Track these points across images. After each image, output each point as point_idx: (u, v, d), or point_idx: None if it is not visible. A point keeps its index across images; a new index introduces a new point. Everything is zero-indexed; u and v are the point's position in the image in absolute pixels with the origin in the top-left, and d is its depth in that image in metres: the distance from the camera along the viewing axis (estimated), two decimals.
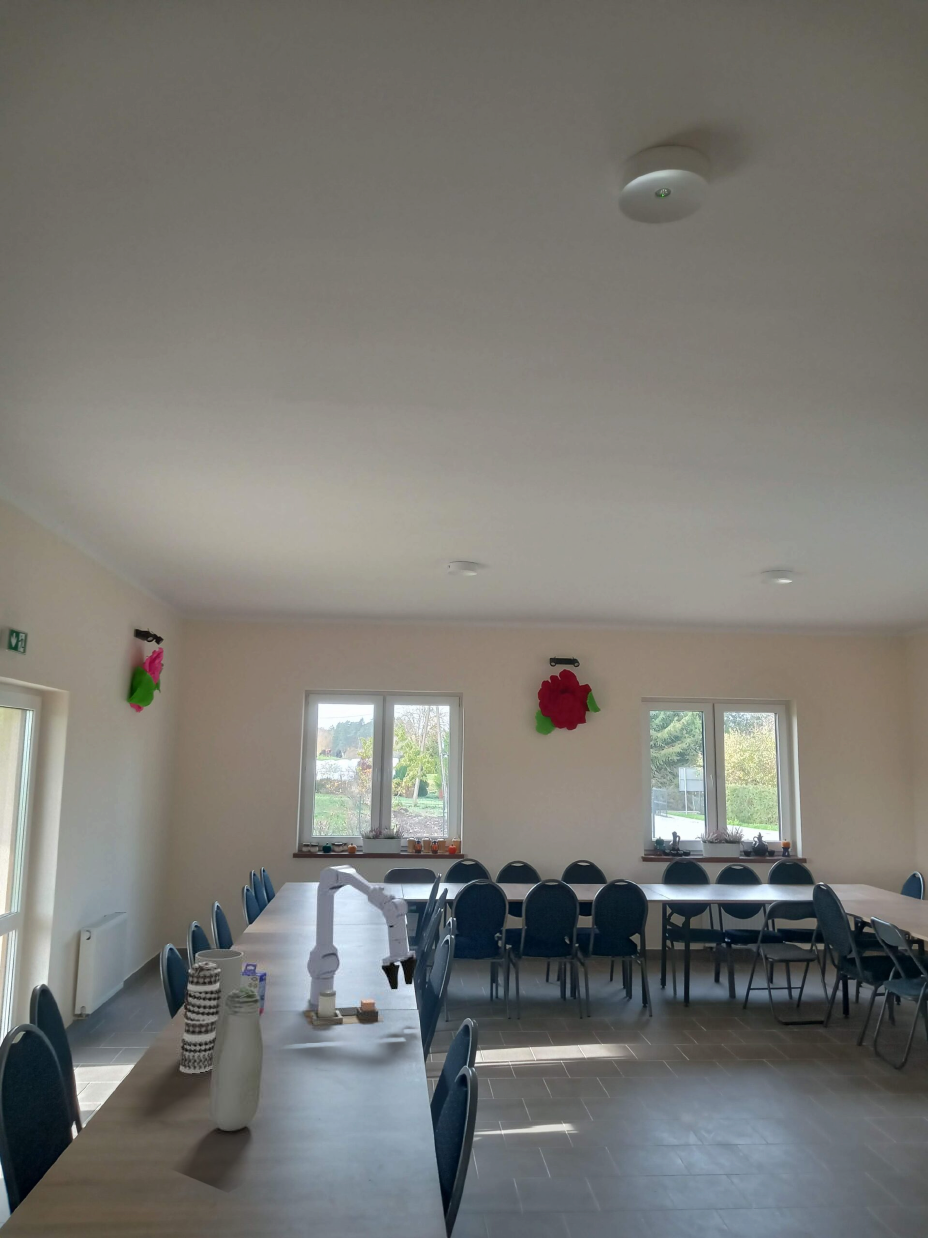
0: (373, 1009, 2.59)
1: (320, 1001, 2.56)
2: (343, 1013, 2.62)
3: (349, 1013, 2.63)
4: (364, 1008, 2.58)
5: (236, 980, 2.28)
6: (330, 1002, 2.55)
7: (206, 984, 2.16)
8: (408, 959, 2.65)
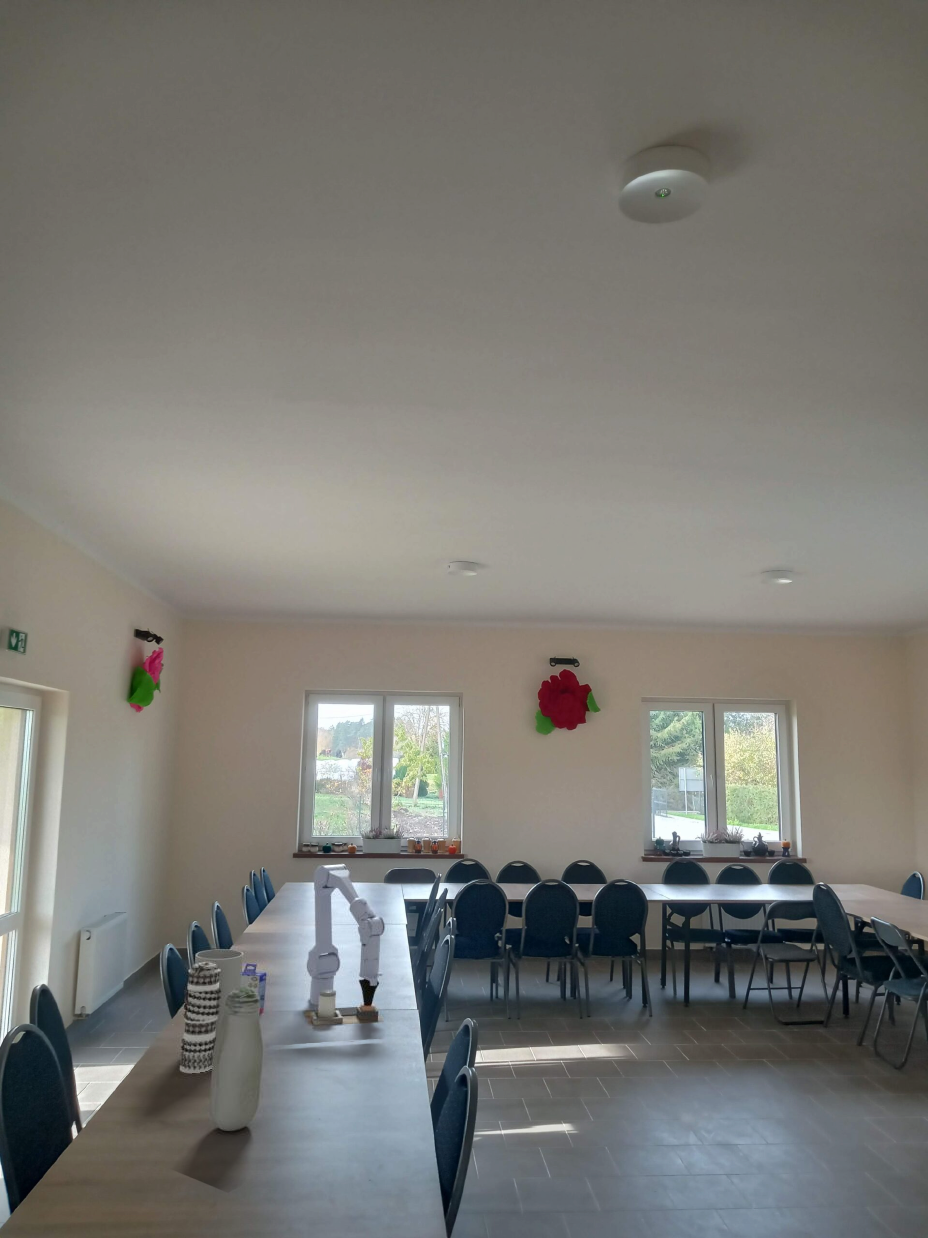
0: None
1: (320, 1001, 2.56)
2: (343, 1013, 2.62)
3: (349, 1013, 2.63)
4: None
5: (236, 980, 2.28)
6: (330, 1002, 2.55)
7: (206, 984, 2.16)
8: None
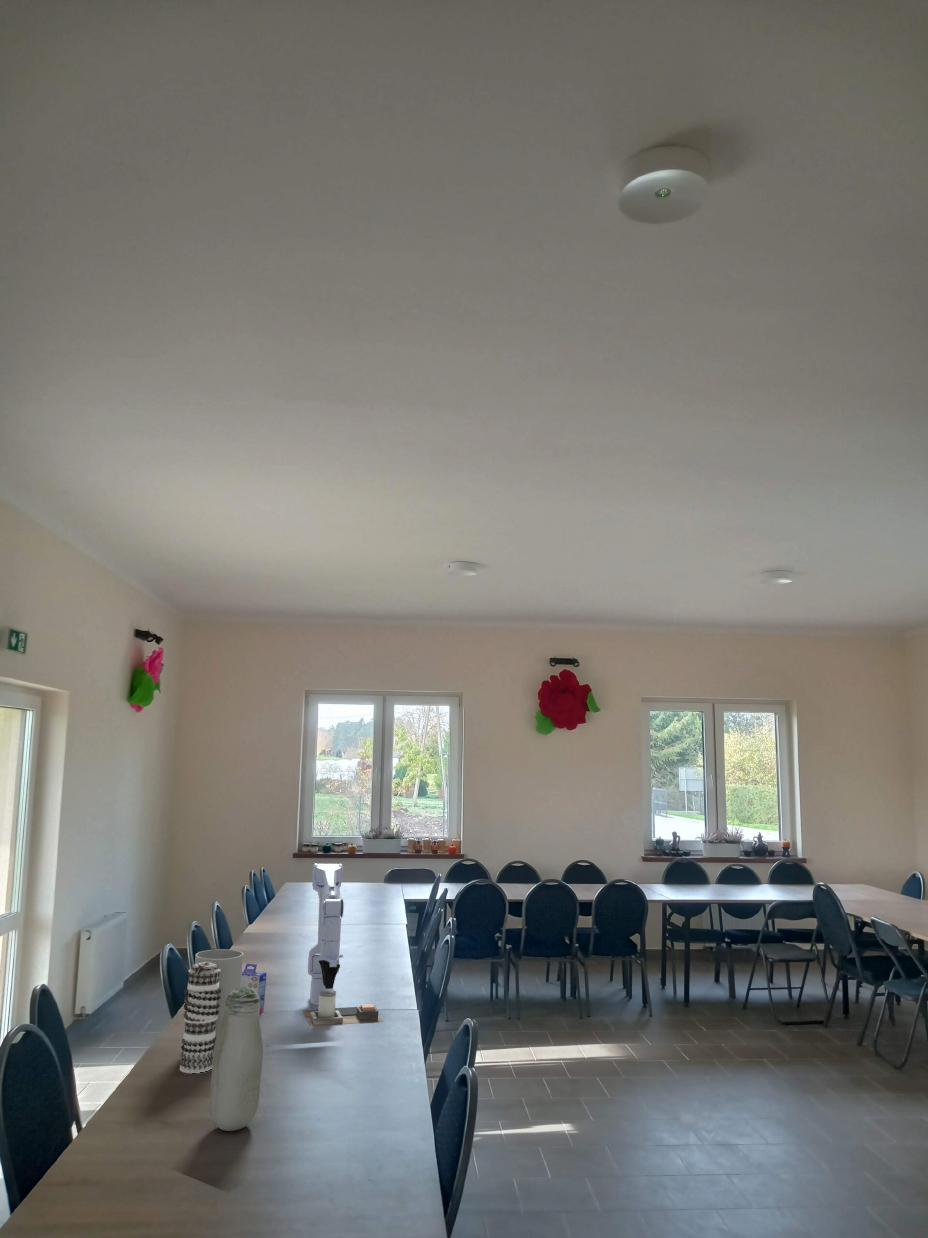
0: None
1: (320, 1001, 2.56)
2: (343, 1013, 2.62)
3: (349, 1013, 2.63)
4: None
5: (236, 980, 2.28)
6: (330, 1002, 2.55)
7: (206, 984, 2.16)
8: None
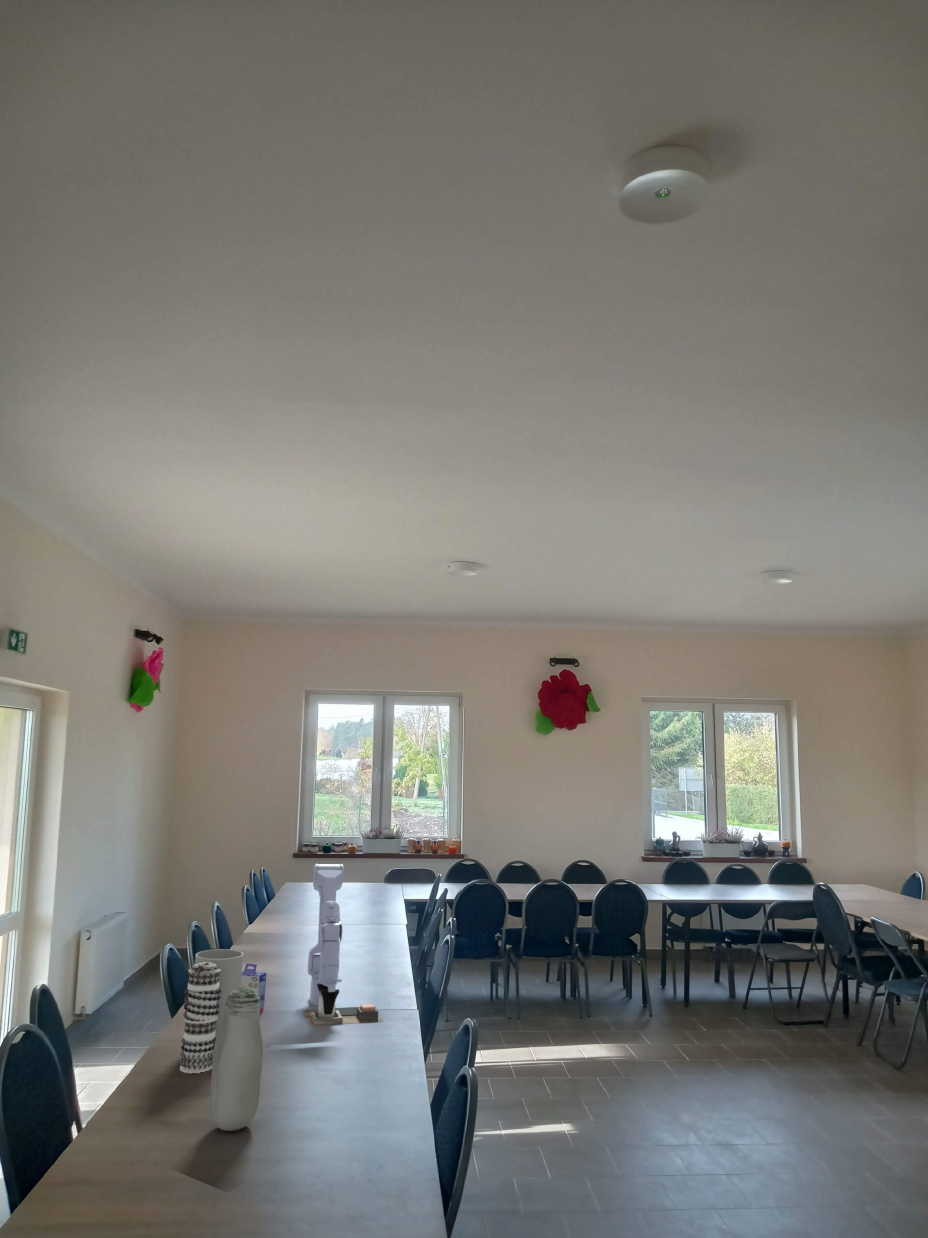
0: None
1: (320, 1001, 2.56)
2: (343, 1013, 2.62)
3: (349, 1013, 2.63)
4: None
5: (236, 980, 2.28)
6: None
7: (206, 984, 2.16)
8: None
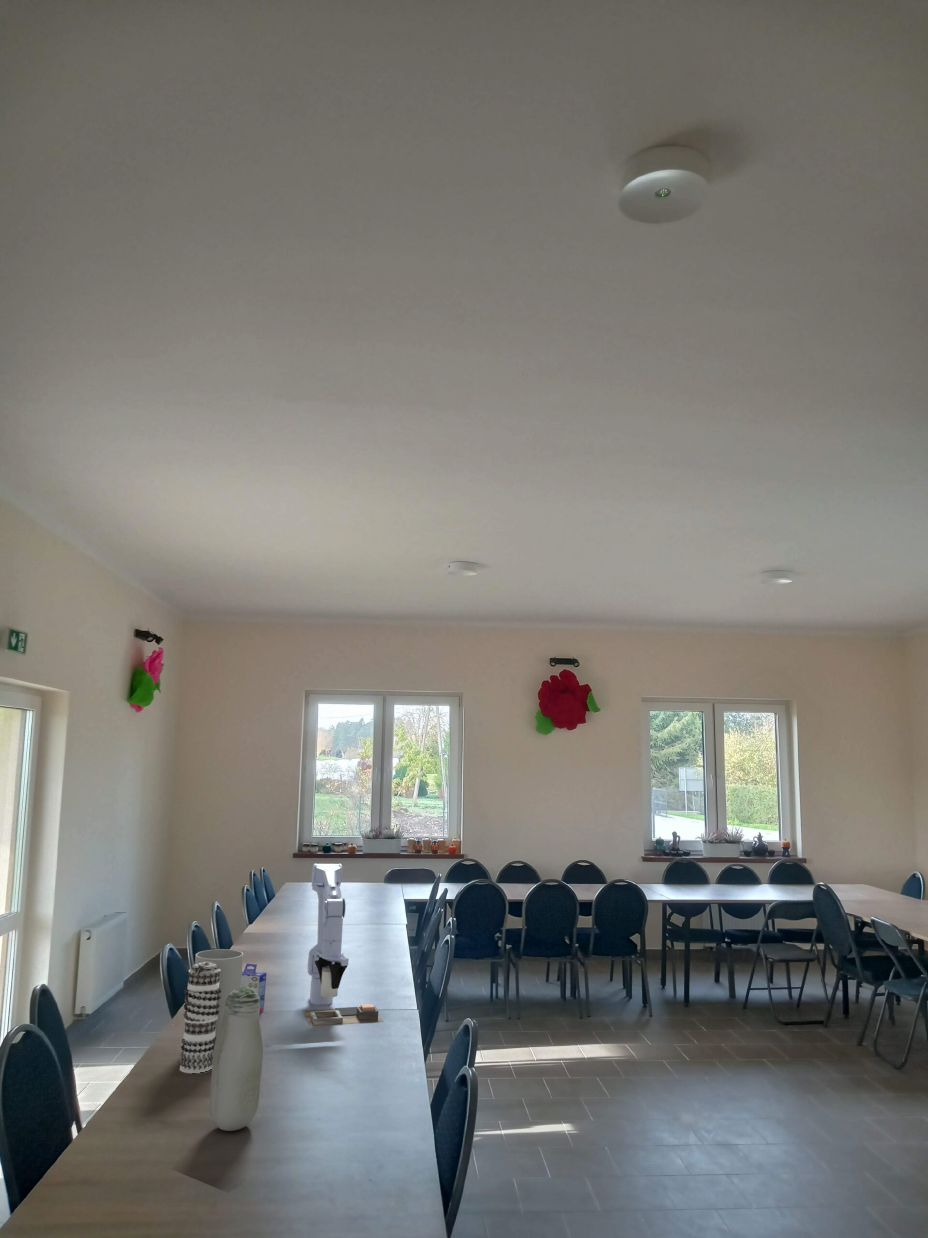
0: None
1: (326, 977, 2.57)
2: (343, 1013, 2.62)
3: (349, 1013, 2.63)
4: None
5: (236, 980, 2.28)
6: None
7: (206, 984, 2.16)
8: (325, 959, 2.63)
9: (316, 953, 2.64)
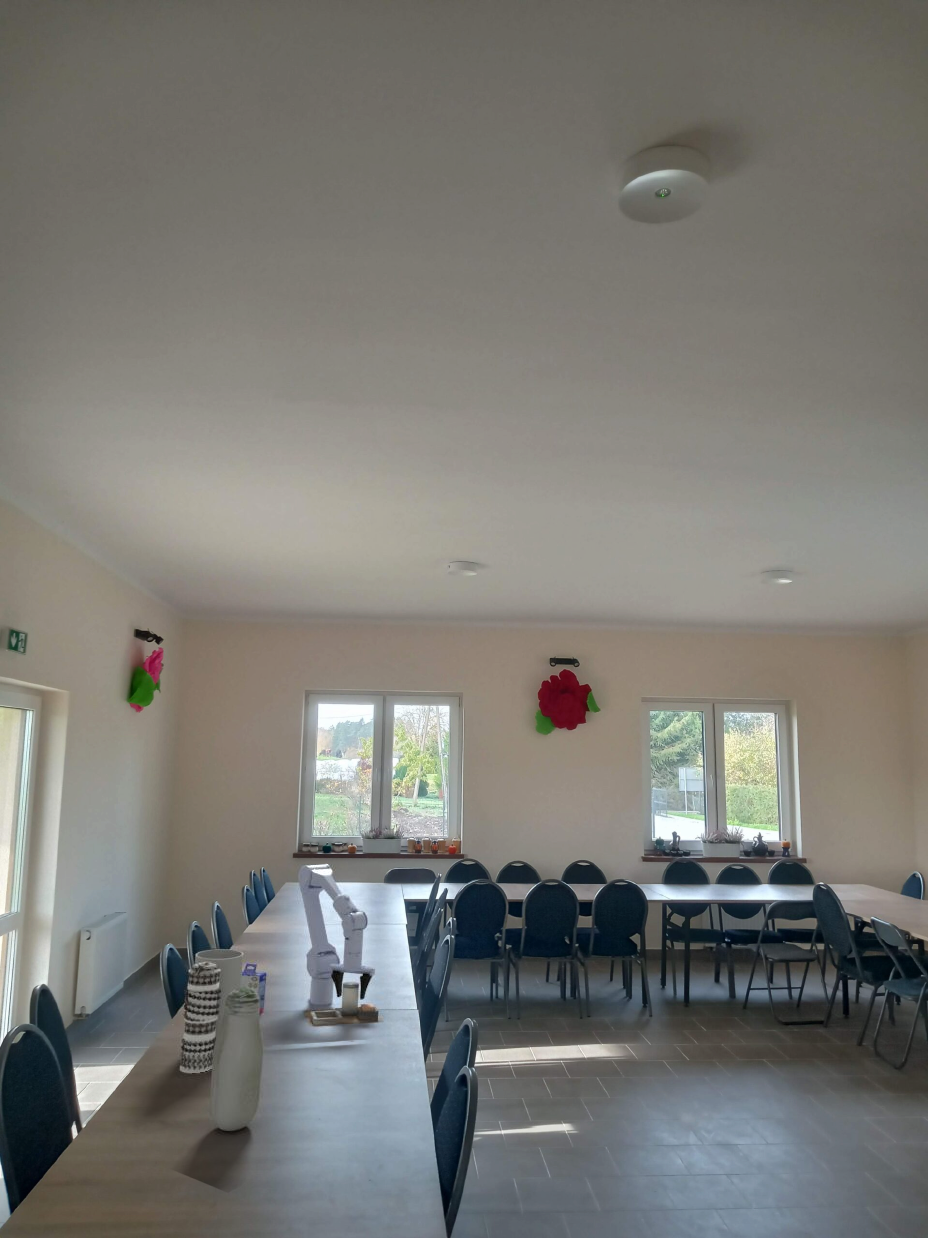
0: None
1: (351, 993, 2.64)
2: (343, 1013, 2.62)
3: (349, 1013, 2.63)
4: None
5: (236, 980, 2.28)
6: (358, 992, 2.66)
7: (206, 984, 2.16)
8: None
9: (332, 967, 2.68)
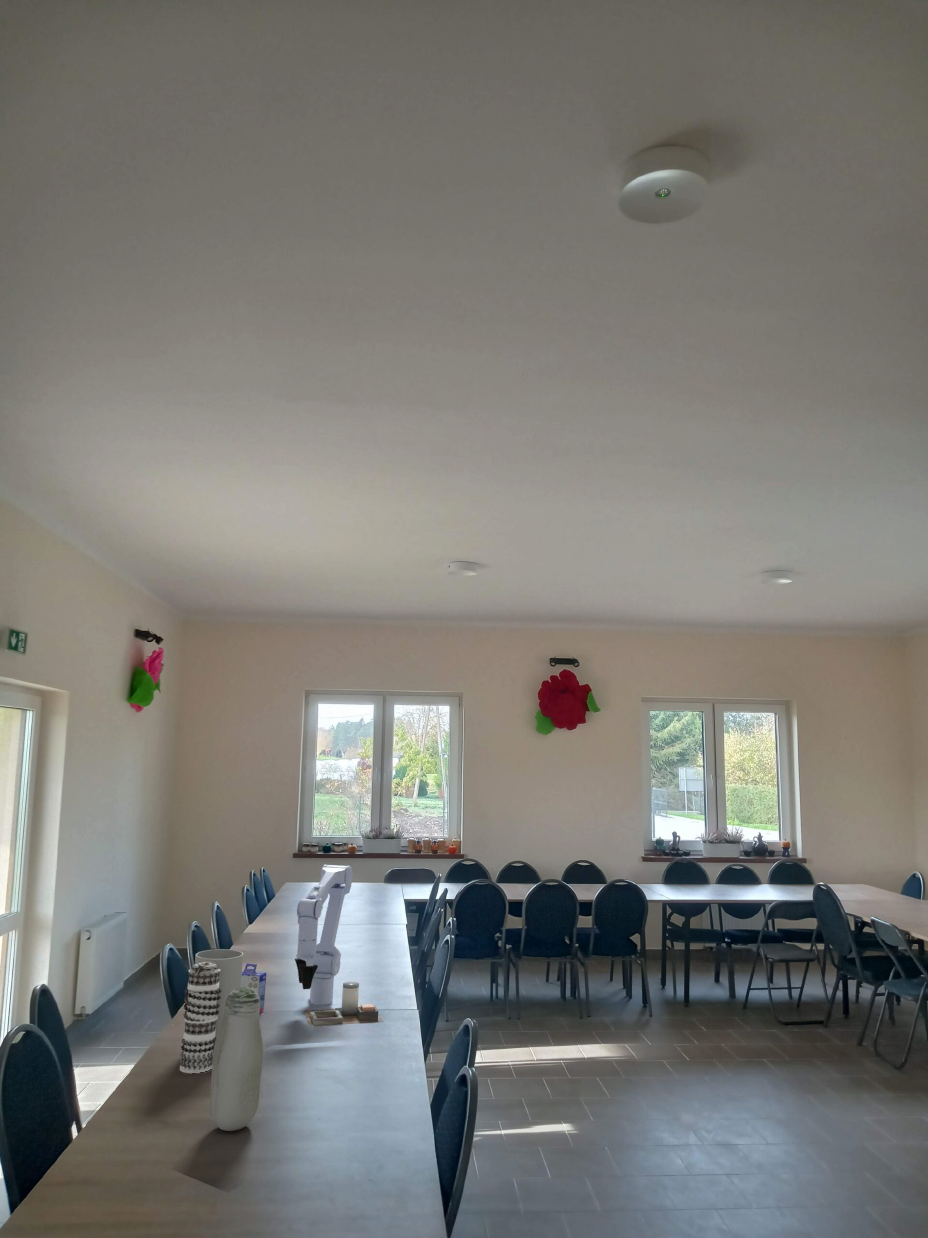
0: None
1: (351, 994, 2.64)
2: (343, 1013, 2.62)
3: (349, 1013, 2.63)
4: None
5: (236, 980, 2.28)
6: (358, 992, 2.66)
7: (206, 984, 2.16)
8: None
9: None
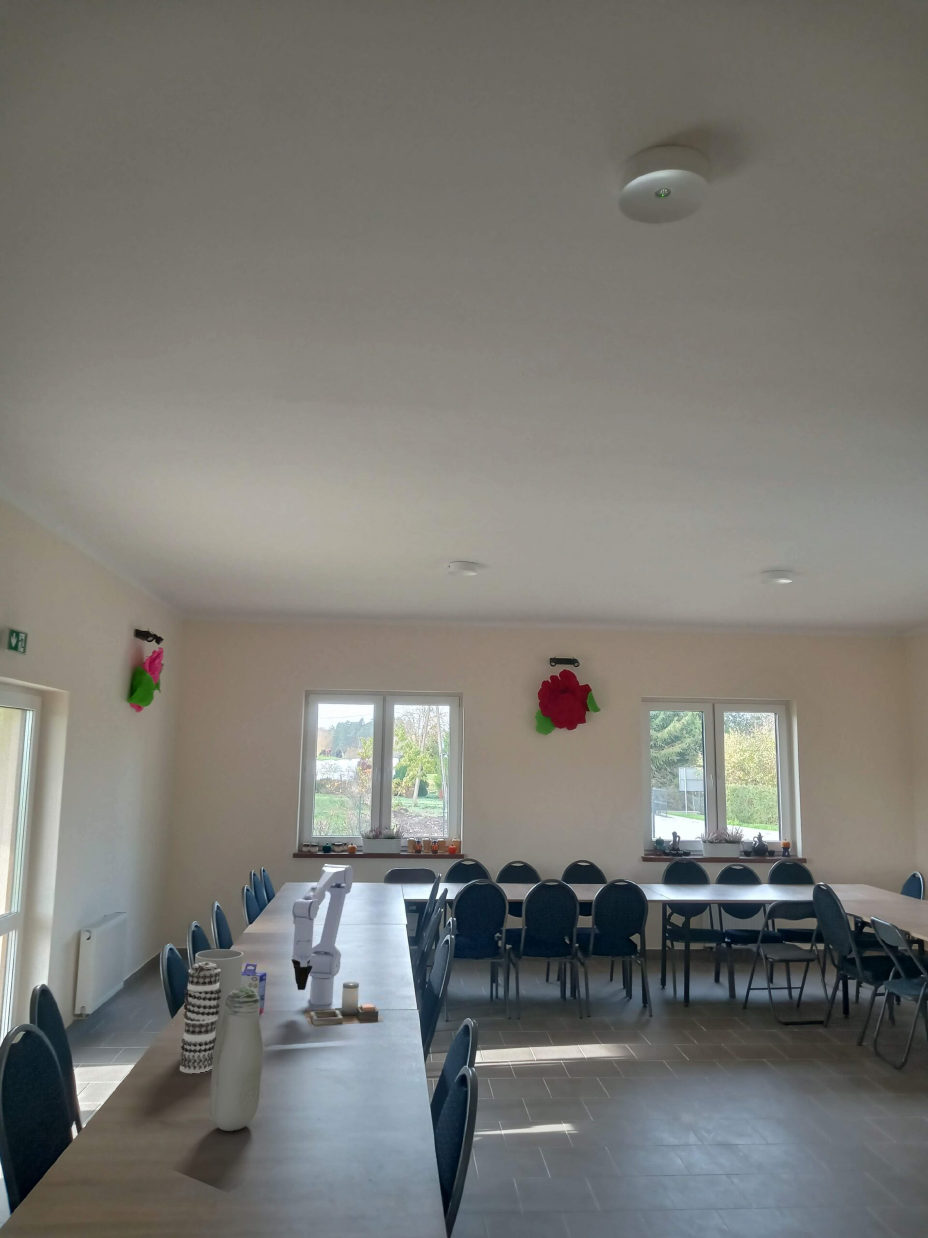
0: None
1: (350, 994, 2.64)
2: (343, 1013, 2.62)
3: (349, 1013, 2.63)
4: None
5: (236, 980, 2.28)
6: (358, 992, 2.66)
7: (206, 984, 2.16)
8: None
9: None
